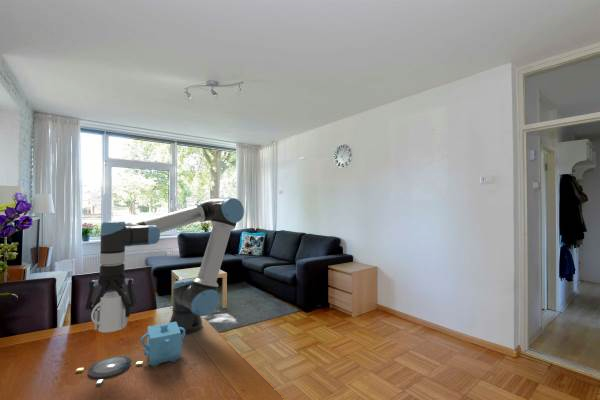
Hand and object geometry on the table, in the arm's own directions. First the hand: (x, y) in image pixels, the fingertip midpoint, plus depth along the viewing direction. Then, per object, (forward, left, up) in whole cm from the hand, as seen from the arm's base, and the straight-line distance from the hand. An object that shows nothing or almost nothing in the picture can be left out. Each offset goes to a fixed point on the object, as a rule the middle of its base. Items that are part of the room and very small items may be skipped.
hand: (111, 326), depth 106 cm
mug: (+1, 0, -1) cm, 1 cm away
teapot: (-18, 0, -15) cm, 23 cm away
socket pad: (0, +2, -15) cm, 15 cm away
